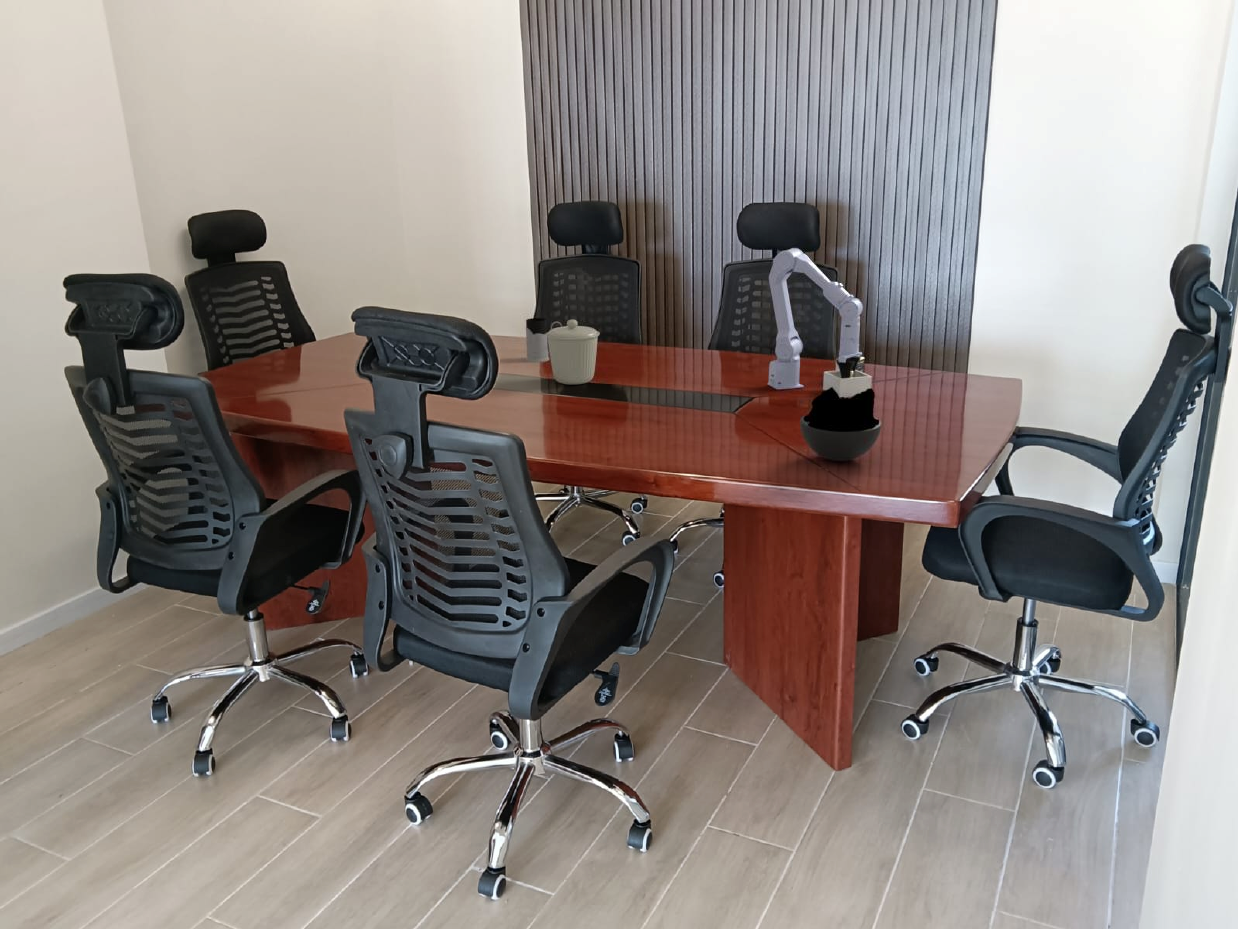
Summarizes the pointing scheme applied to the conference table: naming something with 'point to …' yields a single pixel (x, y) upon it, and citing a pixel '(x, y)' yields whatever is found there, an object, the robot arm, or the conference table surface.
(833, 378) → the white open box
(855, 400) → the coal bowl
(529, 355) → the glass holder
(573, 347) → the canister
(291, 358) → the conference table surface
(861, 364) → the medicine bottle
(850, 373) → the robot arm
